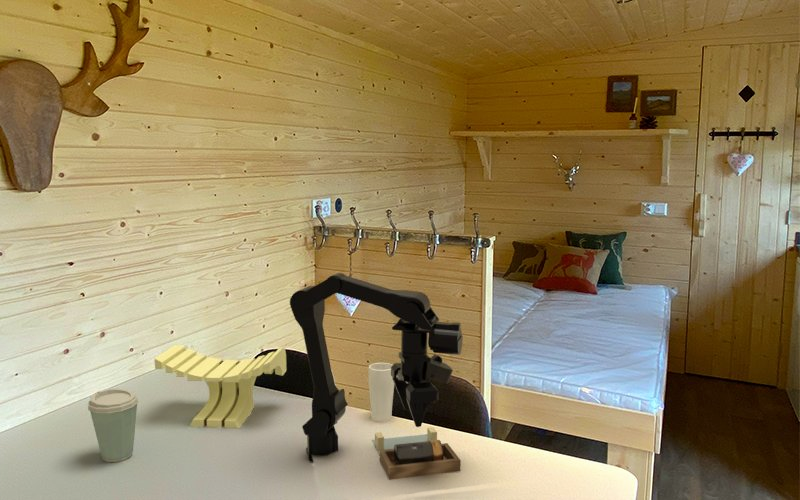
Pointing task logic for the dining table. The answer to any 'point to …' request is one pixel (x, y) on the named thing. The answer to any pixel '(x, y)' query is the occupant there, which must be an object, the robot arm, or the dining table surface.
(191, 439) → the dining table surface
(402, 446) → the battery cell
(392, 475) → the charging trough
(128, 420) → the disposable coffee cup
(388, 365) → the drinking glass
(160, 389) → the dining table surface
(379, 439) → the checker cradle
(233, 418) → the slatted curved stool
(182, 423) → the dining table surface
